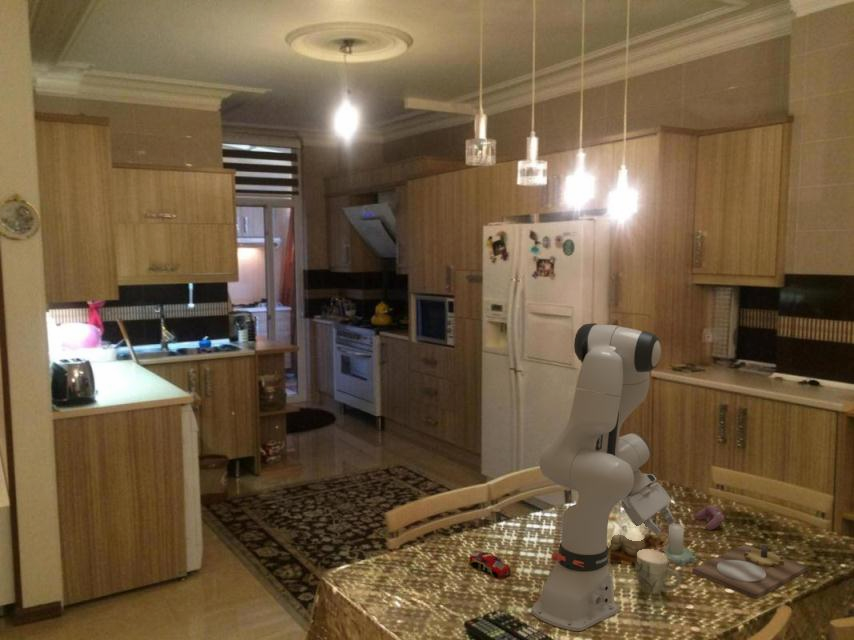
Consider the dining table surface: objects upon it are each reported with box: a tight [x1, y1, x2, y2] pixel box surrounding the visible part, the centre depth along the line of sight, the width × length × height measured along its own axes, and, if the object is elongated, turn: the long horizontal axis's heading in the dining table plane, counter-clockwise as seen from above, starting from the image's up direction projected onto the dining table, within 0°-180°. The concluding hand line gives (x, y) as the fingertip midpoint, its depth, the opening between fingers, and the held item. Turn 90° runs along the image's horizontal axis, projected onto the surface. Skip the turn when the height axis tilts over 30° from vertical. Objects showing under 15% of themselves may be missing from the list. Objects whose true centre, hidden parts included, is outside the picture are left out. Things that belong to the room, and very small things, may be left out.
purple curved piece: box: [695, 504, 725, 531], centre depth 222 cm, size 10×5×7 cm, turn 0°
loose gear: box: [662, 523, 696, 567], centre depth 199 cm, size 11×11×9 cm
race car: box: [469, 551, 511, 579], centre depth 193 cm, size 13×5×4 cm, turn 40°
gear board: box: [691, 544, 809, 600], centre depth 190 cm, size 26×18×5 cm
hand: (666, 527), depth 201 cm, fingers open, 8 cm apart
